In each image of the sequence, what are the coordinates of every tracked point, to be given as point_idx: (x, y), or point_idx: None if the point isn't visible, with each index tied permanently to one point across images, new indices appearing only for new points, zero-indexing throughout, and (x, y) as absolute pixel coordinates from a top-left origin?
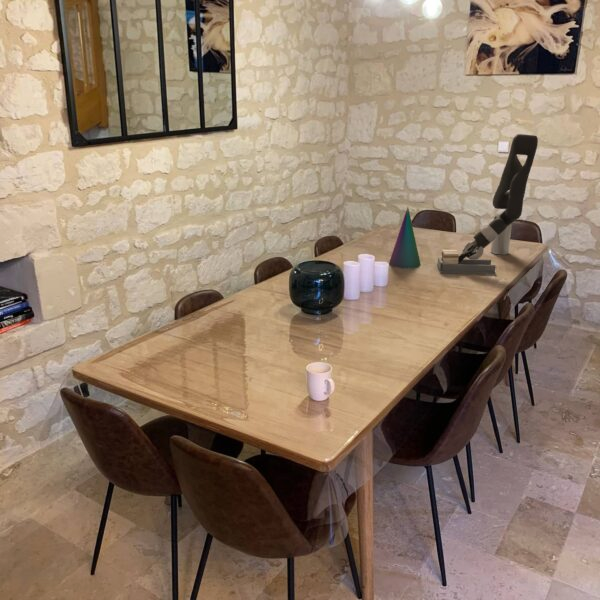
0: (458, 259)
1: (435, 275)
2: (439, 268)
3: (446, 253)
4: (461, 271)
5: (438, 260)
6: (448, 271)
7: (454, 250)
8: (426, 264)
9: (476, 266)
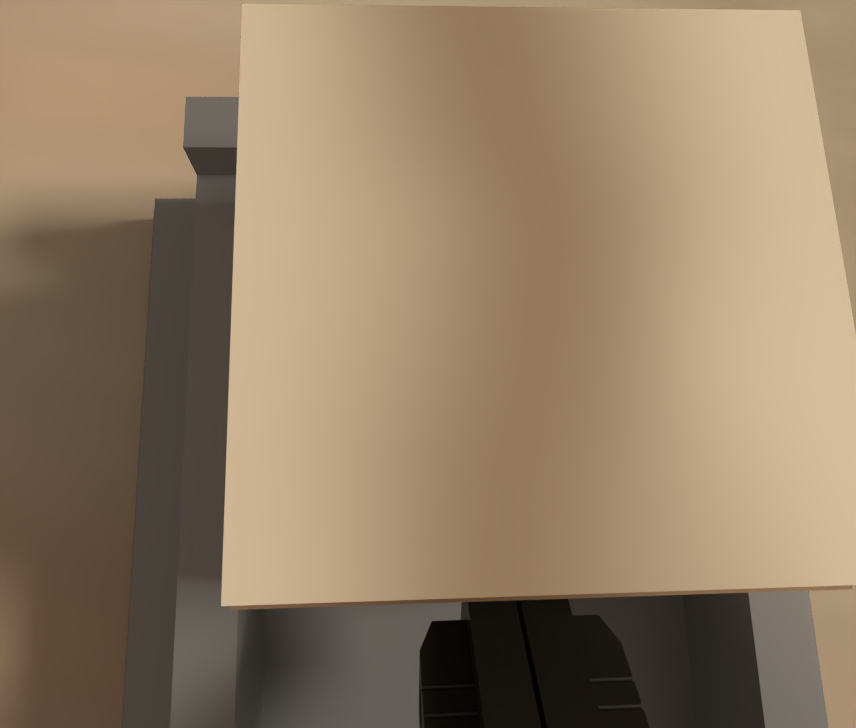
0: (461, 625)
1: (40, 113)
2: None
3: (243, 89)
4: (165, 663)
5: None
6: (158, 356)
7: (765, 473)
8: None
9: None
